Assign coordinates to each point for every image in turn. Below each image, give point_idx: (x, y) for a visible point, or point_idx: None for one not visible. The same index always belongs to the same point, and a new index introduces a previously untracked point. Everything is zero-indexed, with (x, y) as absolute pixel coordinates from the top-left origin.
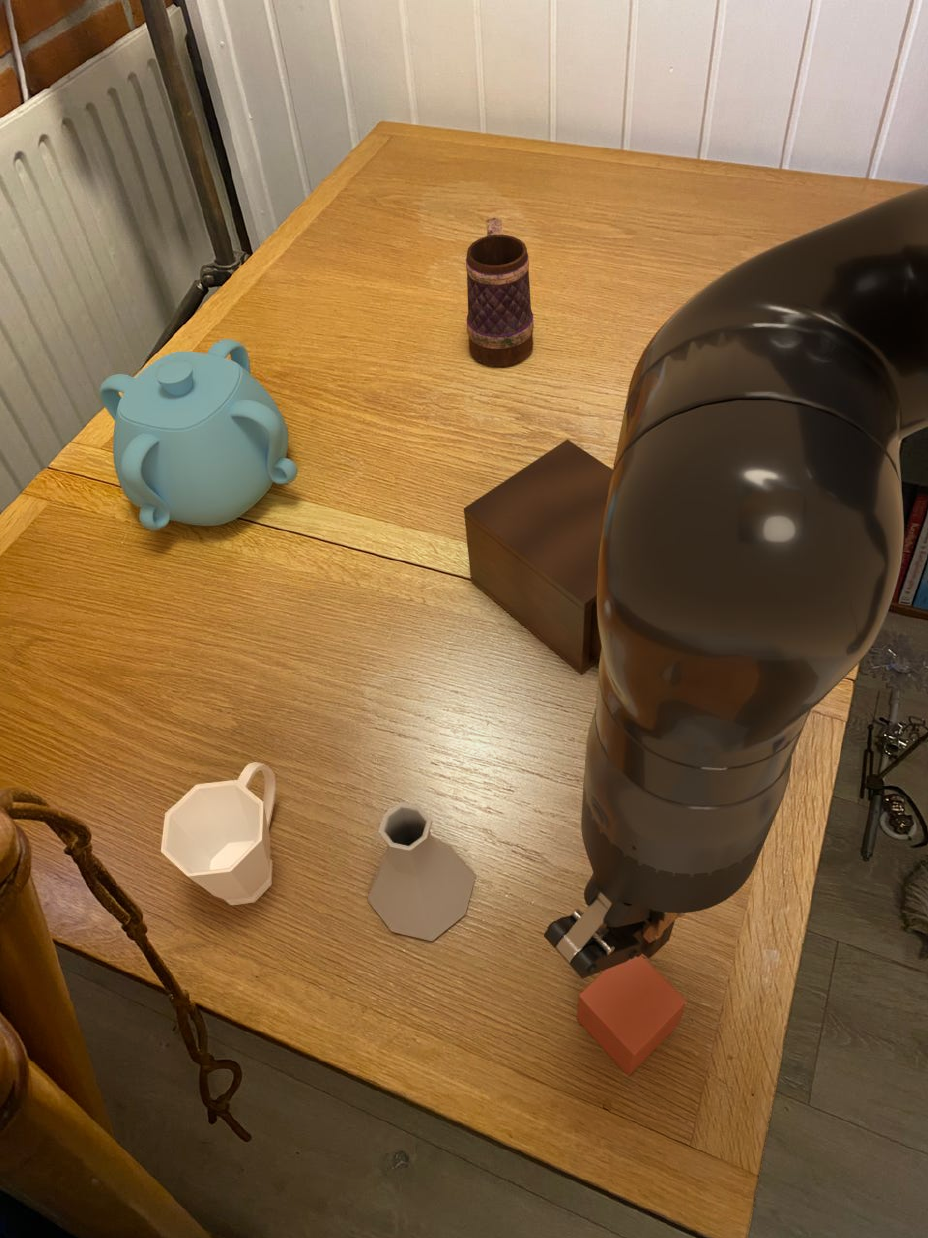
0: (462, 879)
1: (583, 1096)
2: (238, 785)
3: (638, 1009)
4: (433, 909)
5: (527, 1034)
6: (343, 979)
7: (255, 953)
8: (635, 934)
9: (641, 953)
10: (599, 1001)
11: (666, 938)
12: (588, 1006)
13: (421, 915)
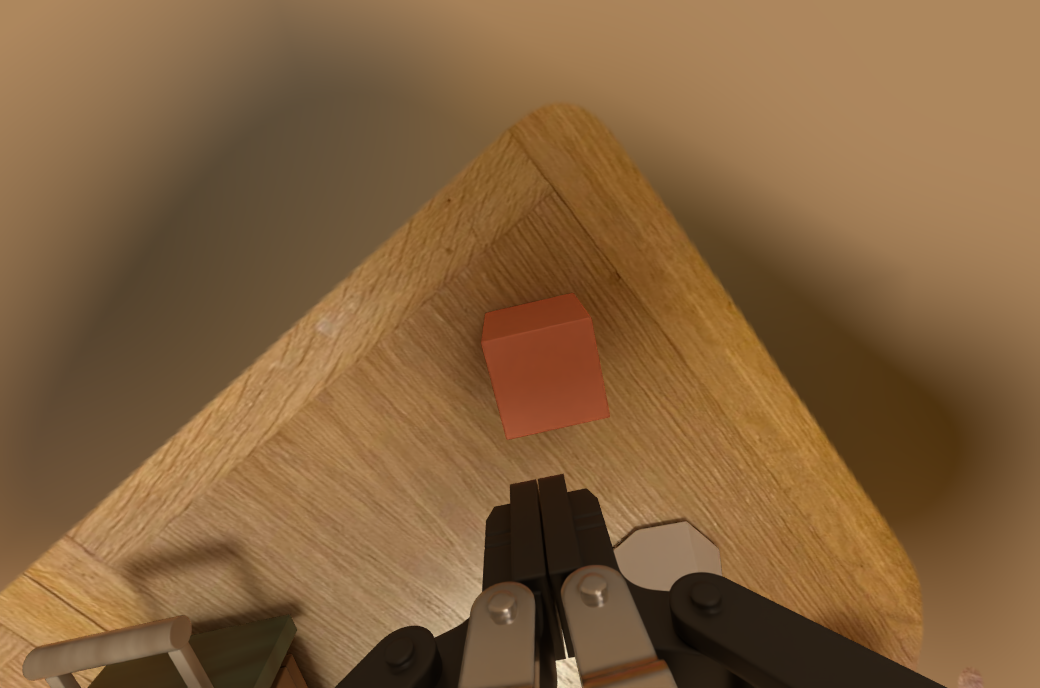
0: (628, 575)
1: (632, 299)
2: None
3: (549, 365)
4: (684, 566)
5: (649, 387)
6: (788, 525)
7: (849, 586)
8: (672, 642)
9: (578, 494)
10: (589, 398)
11: (523, 505)
12: (606, 399)
13: (700, 565)
